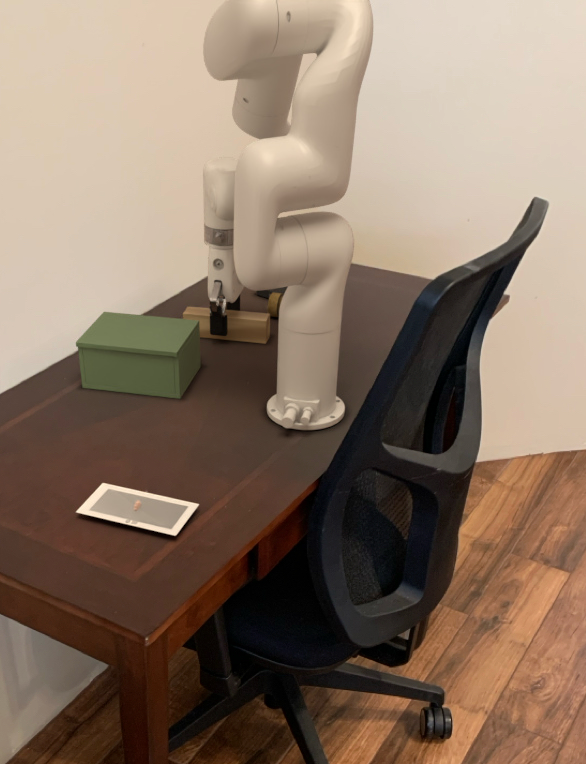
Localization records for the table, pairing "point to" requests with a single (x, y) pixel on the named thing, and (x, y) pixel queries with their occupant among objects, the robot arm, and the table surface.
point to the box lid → (138, 334)
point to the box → (141, 370)
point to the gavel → (274, 304)
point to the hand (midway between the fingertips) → (225, 324)
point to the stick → (233, 324)
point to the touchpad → (138, 509)
